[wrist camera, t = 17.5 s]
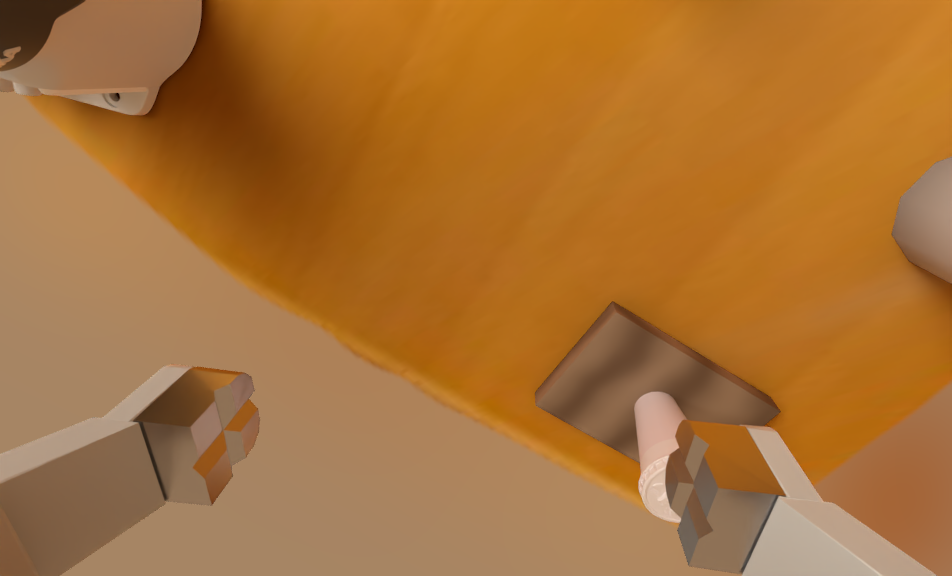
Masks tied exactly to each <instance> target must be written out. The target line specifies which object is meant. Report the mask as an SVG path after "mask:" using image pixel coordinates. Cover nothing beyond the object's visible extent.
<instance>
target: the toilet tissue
mask: <svg viewBox="0 0 952 576" xmlns="http://www.w3.org/2000/svg"><path fill="white" fill-rule="evenodd" d="M892 236H893V238H894V239H895V241H896V242H897V244H898V245H899V247H900V248H901V250H902V251H903V253H904V254H905V256H906V257H907V259H908V260H909V261H910V262H912V263H913V264H915V265H917V266H919V267H921V268H923V269H925V270H926V271H928V272H930V273H932V274H934V275H936V276H938V277H939V278H941V279H943V280H945V281H947V282H949V283H950V284H952V157H950V158H947V159H944V160H942V161H939V162H936V163H935V164H934V165H933V166H932V167H931V168H930V169H929V170H928V171H927V172H926V173H925V174H924V175H923V176H922V177H921V178H920V179H919V180H918V181H917V182H916V183H915V184H914V185H913V186H912V187H911V188H910V189H909V190H908V191H907V192H906V193H905V194H904V195H903V196H902V197H901V198H900V202H899V206H898V211H897V215H896V219H895V223H894V227H893V231H892Z"/></svg>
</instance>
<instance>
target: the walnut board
mask: <svg viewBox="0 0 952 576" xmlns="http://www.w3.org/2000/svg"><path fill="white" fill-rule="evenodd" d="M650 392H664V393H666V394H669V395H670V396H671V397H672V398H673V399H674V400H675V402H676V403H677V405H678V406H679V408H680V409H681V411H682V412H683V414H684V415H685V417H686V419H687V420H692V421H702V422H712V423H722V424H732V425H751V426H764V425H765V424H766V423H768V422H769V421H770V420H771V419H772V418H774V417H775V416H776V415H777V414H778V413H780V412H781V411H780V410H779V409H778V407H777V406H776V404H775V403H774V402H773V400H772V399H771V397H769V396H768V395H766V394H764V393H763V392H761V391H759V390H758V389H756V388H754V387H753V386H751V385H749V384H748V383H746V382H744V381H743V380H741V379H740V378H738V377H736V376H735V375H733V374H731V373H730V372H728V371H726V370H725V369H723V368H721V367H720V366H718V365H717V364H715V363H713V362H712V361H710V360H708V359H707V358H705V357H703V356H702V355H700V354H698V353H697V352H695V351H694V350H692V349H690V348H689V347H687V346H685V345H684V344H682V343H680V342H679V341H677V340H675V339H674V338H672V337H670V336H669V335H667V334H666V333H664V332H662V331H661V330H659V329H657V328H656V327H654V326H652V325H651V324H649V323H647V322H646V321H644V320H643V319H641V318H639V317H638V316H636V315H634V314H633V313H631V312H629V311H628V310H626V309H624V308H623V307H621V306H620V305H618V304H616V303H615V302H613V301H612V303H611V304H610V305H609V306H608V307H607V308H606V310H605V311H604V312H603V313H602V314H601V316H600V317H599V318H598V319H597V320H596V321H595V323H594V324H593V325H592V326H591V327H590V328H589V330H588V331H587V332H586V333H585V334H584V336H583V337H582V338H581V339H580V340H579V341H578V343H577V344H576V345H575V346H574V347H573V348H572V350H571V351H570V352H569V353H568V354H567V356H566V357H565V358H564V359H563V360H562V361H561V363H560V364H559V365H558V366H557V367H556V368H555V370H554V371H553V372H552V373H551V374H550V375H549V377H548V378H547V379H546V380H545V381H544V383H543V384H542V385H541V386H540V387H539V388H538V390H537V391H536V392H535V402H536V406H537V407H539V408H541V409H543V410H545V411H546V412H548V413H550V414H552V415H554V416H555V417H557V418H559V419H561V420H563V421H564V422H566V423H568V424H570V425H572V426H574V427H575V428H577V429H579V430H581V431H583V432H584V433H586V434H588V435H590V436H592V437H593V438H595V439H597V440H599V441H601V442H602V443H604V444H606V445H608V446H610V447H611V448H613V449H615V450H617V451H619V452H621V453H622V454H624V455H626V456H628V457H630V458H631V459H633V460H635V461H637V462H639V463H640V457H639V448H638V439H637V429H636V420H635V411H634V407H635V404H636V402H637V400H638V399H639V398H640V397H641V396H643V395H645V394H647V393H650Z"/></svg>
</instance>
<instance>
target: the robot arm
mask: <svg viewBox="0 0 952 576" xmlns="http://www.w3.org/2000/svg"><path fill="white" fill-rule="evenodd" d="M201 13H202V0H0V92H12V91H15V92H16V93H18V94H22V95H29V96H39V95H42V93H43V94H45V95H58V96H61V97H65V98H69V99H72V100H76V101H80V102H83V103H87V104H91V105H94V106H98V107H102V108H105V109H109V110H113V111H116V112H120V113H124V114H128V115H145V114H147V113H148V112H149V111H150V110H151V108H152V106H153V104H154V102H155V99H156V96H157V94H158V91H159V88H160V86H161V84H162V83H163V82H164V81H165V80H166V79H167V78H168V77H169V76H171V75H172V74H173V73H174V72H175V71H177V70H178V69H179V68H180V67H181V66H182V65H183V63H184V62H185V61H186V59H187V58H188V56H189V55H190V53H191V51H192V49H193V47H194V45H195V42H196V39H197V36H198V32H199V28H200V23H201ZM116 93H119V95H120V99H119V98H118V97H117V95H116ZM254 391H255V390H254V386H253V382H252V378H251V376H249V375H248V374H246V373H243V372H235V371H227V370H219V369H212V368H204V367H193V366H186V365H178V364H171V365H167V366H164V367H163V368H161V369H160V370H159V371H158V372H157V373H155V374H154V375H153V376H152V377H151V378H149V379H148V380H147V381H146V382H145V383H143V385H141V386H140V387H139V388H137V390H135V391H134V392H133V393H132V394H130V395H129V396H128V397H127V398H126V399H124V400H123V401H122V402H121V403H120V404H118V405H117V406H116V407H115V408H114V409H112V410H111V411H110V412H109V413H108V414H106V415H105V416H104V417H103V418H95V417H94V418H91V419H89V420H86V421H83V422H81V423H78V424H76V425H73V426H71V427H68V428H65V429H63V430H61V431H58V432H55V433H53V434H50V435H48V436H45V437H43V438H40V439H37V440H35V441H33V442H30V443H27V444H25V445H22V446H20V447H17V448H14V449H12V450H9V451H7V452H4V453H2V454H0V576H60V575H61V574H63V573H64V572H66V571H67V570H69V569H70V568H72V567H73V566H75V565H76V564H78V563H79V562H81V561H82V560H84V559H85V558H87V557H88V556H89V555H91V554H92V553H94V552H95V551H97V550H98V549H100V548H101V547H103V546H104V545H106V544H107V543H109V542H110V541H111V540H113V539H115V538H116V537H117V536H119V535H120V534H122V533H123V532H125V531H126V530H128V529H129V528H131V527H132V526H134V525H135V524H136V523H138V522H140V521H141V520H142V519H144V518H145V517H147V516H148V515H150V514H151V513H153V512H154V511H156V510H157V509H159V508H160V507H162V506H163V505H165V501H168V502H178V503H189V504H199V505H210V506H211V505H212V504H213V503H214V502H215V500H216V498H218V496H219V495H220V493H221V492H222V491H223V489H224V488H225V486H226V485H227V484H228V482H229V481H230V479H231V478H232V477H233V474H232V465H234V464H236V463H238V462H239V461H241V460H243V459H245V458H246V457H247V455H248V454H249V452H250V451H251V449H252V448H253V446H254V444H255V441H256V438H257V436H258V433H259V424H260V417H259V412H258V408H257V407H256V406H255V405H254V404H253V403H252V402H251V401H250V400H249V398H250V396H251V395H252V394H253V392H254ZM675 438H676V441H677V443H678V446H679V448H678V449H677V450H675V451H674V452H672V453H671V454H670V455H669V458H668V462H667V466H666V473H665V487H666V493H667V498H668V501H669V505H670V508H671V509H672V510H673V511H674V512H675V513H676V514H677V515H678V516H679V517H680V518H681V521H680V524H679V527H678V530H677V531H678V534H679V537H680V540H681V543H682V546H683V549H684V553H685V556H686V559H687V562H688V565H689V566H691V567H698V568H704V569H710V570H718V571H724V572H730V573H737V574H742V576H937V575H936V574H934V573H933V572H931V571H930V570H928V569H927V568H925V567H924V566H923V565H921V564H920V563H918V562H917V561H915V560H914V559H913V558H911V557H910V556H908V555H907V554H906V553H904V552H903V551H901V550H900V549H899V548H897V547H896V546H894V545H893V544H891V543H890V542H889V541H887V540H886V539H884V538H883V537H881V536H880V535H879V534H877V533H876V532H874V531H873V530H871V529H870V528H869V527H867V526H866V525H864V524H863V523H861V522H860V521H859V520H857V519H855V518H854V517H853V516H851V515H850V514H848V513H847V512H846V511H844V510H843V509H841V508H840V507H839V506H837V505H836V504H834V503H831V502H823V500H822V499H821V497H820V496H819V494H818V493H817V491H816V490H815V488H814V487H813V485H812V484H811V482H810V481H809V479H808V478H807V476H806V475H805V473H804V472H803V470H802V469H801V467H800V466H799V464H798V463H797V461H796V460H795V458H794V457H793V455H792V454H791V452H790V451H789V449H788V448H787V446H786V445H785V443H784V442H783V440H782V439H781V437H780V436H779V434H778V433H777V432H776V431H775V430H774V429H772V428H771V427H764V426H751V425H732V424H722V423H712V422H702V421H692V420H682V421H681V423H680V424H679V425H678V428H677V432H676V435H675Z"/></svg>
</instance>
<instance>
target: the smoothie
mask: <svg viewBox="0 0 952 576" xmlns="http://www.w3.org/2000/svg"><path fill="white" fill-rule="evenodd" d="M634 411H635V420H636V429H637V439H638V448H639V457H640V468H641V476H640V479H639V492H640V494H641V497H642V500H643V503H644V505H645V507H646V508H647V509H648V510H649V511H650V512H651V513H652V514H653V515H655V516H656V517H658V518H660V519H663V520H666V521H669V522H675V523H680V521H681V518H680V517H679V516H678V515H677V514H676V513H675V512H674V511H673V510H672V509H671V508H670V505H669V501H668V498H667V493H666V487H665V473H666V466H667V462H668V458H669V455H670V454H671V453H672V452H674V451H675V450H677V449H678V448H679V446H678V443H677V441H676V438H675V435H676V432H677V428H678V425H679V424H680V423H681V421H682V420H687V419H686V417H685V415H684V414H683V412H682V411H681V409H680V408H679V406H678V405H677V403H676V402H675V400H674V399H673V398H672V397H671V396H670V395H669V394H666V393H664V392H650V393H647V394H645V395H643V396H641V397H640V398H639V399H638V400H637V402H636V404H635V407H634Z"/></svg>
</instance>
